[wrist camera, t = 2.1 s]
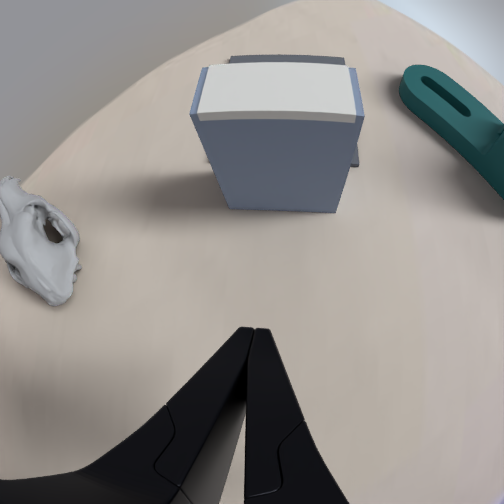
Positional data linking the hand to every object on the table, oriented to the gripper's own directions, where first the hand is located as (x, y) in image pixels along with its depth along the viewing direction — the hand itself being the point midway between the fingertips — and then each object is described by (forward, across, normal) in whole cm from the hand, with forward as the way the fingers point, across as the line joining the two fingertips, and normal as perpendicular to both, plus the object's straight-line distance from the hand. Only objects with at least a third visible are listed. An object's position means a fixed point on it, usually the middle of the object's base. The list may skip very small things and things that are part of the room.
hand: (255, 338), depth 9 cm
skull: (+13, +20, +5) cm, 25 cm away
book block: (+17, 0, +1) cm, 17 cm away
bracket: (+23, -19, -4) cm, 30 cm away
